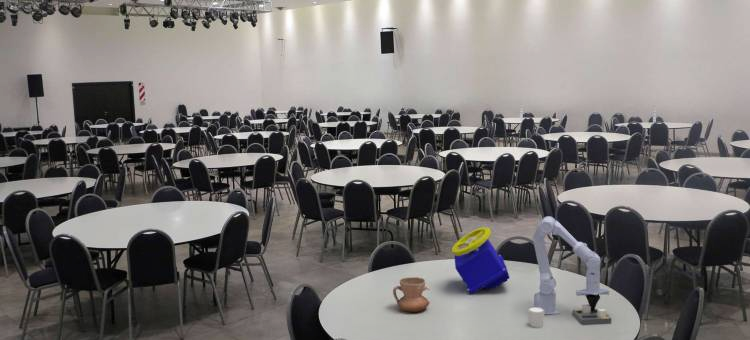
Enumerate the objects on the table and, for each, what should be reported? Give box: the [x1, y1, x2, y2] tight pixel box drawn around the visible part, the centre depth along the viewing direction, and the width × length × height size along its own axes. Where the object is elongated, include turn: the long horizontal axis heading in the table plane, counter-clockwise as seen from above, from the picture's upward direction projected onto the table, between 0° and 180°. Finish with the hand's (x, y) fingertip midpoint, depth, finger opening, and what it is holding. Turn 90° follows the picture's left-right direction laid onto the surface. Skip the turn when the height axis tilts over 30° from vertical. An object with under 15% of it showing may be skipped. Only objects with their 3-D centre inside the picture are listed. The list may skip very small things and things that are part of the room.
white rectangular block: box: [596, 308, 607, 318], centre depth 271 cm, size 3×3×4 cm
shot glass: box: [528, 306, 545, 328], centre depth 269 cm, size 7×7×7 cm
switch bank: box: [571, 308, 612, 326], centre depth 274 cm, size 13×11×2 cm
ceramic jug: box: [392, 276, 431, 313], centre depth 292 cm, size 18×14×14 cm
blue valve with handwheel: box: [451, 226, 511, 295], centre depth 316 cm, size 26×27×30 cm
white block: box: [581, 303, 591, 313], centre depth 277 cm, size 3×3×4 cm
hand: (592, 310), depth 277 cm, fingers closed
